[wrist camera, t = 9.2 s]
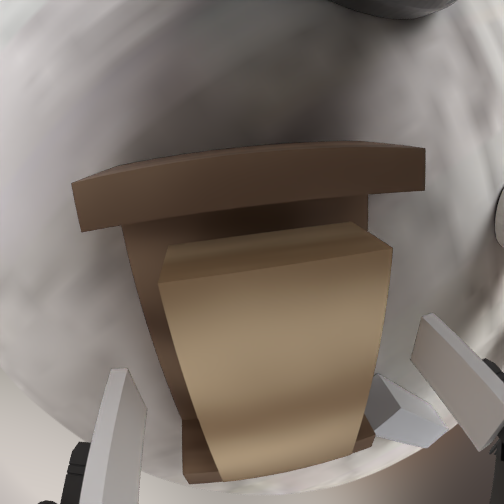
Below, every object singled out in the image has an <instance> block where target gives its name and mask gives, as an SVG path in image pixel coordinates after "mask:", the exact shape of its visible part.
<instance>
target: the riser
mask: <svg viewBox="0 0 504 504" xmlns="http://www.w3.org/2000/svg"><path fill="white" fill-rule="evenodd" d="M364 414H365V416H366V418H367V419H368V421H369V423H370V425H371V427H372V428H373V430H374V432H375V434H376V436H378V437H381V438H385V439H389V440H393V441H397V442H401V443H405V444H409V445H413V446H418V447H422V448H428V447H429V446H430V445H431V444H433V443H434V442H435V441H436V440H437V439H439V438H440V437H441V436H442V435H443V434H444V433H445V432H446V431H448V430H449V428H448V427H447V425H446V424H445V423H444V421H443V420H442V419H441V417H440V416H439V415H438V413H437V412H436V411H435V409H434V408H433V407H432V405H431V404H429V403H428V402H426V401H424V400H422V399H421V398H419V397H417V396H416V395H414V394H412V393H410V392H409V391H407V390H405V389H404V388H402V387H400V386H398V385H397V384H395V383H393V382H392V381H390V380H388V379H387V378H385V377H383V376H382V375H380V374H378V373H377V374H376V375H375V376H374V377H373V379H372V384H371V388H370V392H369V396H368V400H367V404H366V407H365V411H364Z"/></svg>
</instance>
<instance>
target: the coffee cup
mask: <svg viewBox="0 0 504 504" xmlns="http://www.w3.org/2000/svg"><path fill="white" fill-rule="evenodd" d="M495 234H496V238H497V241H498V243H499V244H500V245H501V246H502V247H503V248H504V189H503V191H502V194H501V196H500V199H499V202H498V206H497V211H496V217H495Z"/></svg>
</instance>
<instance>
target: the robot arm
mask: <svg viewBox="0 0 504 504" xmlns="http://www.w3.org/2000/svg"><path fill="white" fill-rule="evenodd" d="M330 1H332V2H335V3H337V4H340V5H342V6H345V7H347V8H350V9H353V10H356V11H359V12H363V13H366V14H370V15H374V16H378V17H384V18H391V19H414V18H419V17H422V16H425V15H428V14H431V13H433V12H436V11H439V10H442V9H444V8H447V7H448V6H450V5H452V4H453V3H455V2H456V1H457V0H330ZM410 360H411V361H412V363H413V364H414V365H415V367H416V368H417V369H418V370H419V372H420V373H421V374H422V375H423V377H424V378H425V379H426V381H427V382H428V383H429V384H430V386H431V387H432V388H433V390H434V391H435V392H436V394H437V395H438V396H439V398H440V399H441V400H442V402H443V403H444V404H445V406H446V407H447V408H448V410H449V411H450V412H451V414H452V415H453V416H454V418H455V419H456V420H457V422H458V423H459V424H460V426H461V427H462V429H463V430H464V431H465V433H466V434H467V436H468V437H469V439H470V440H471V441H472V443H473V444H474V446H475V447H476V448H477V450H478V451H480V450H482V449H484V448H485V447H486V446H488V445H489V444H491V442H492V441H493V440H494V439H495V437H496V436H498V437H499V438H500V439H499V440H498V441H497V443H496V444H495V445H494V446H493V447H492V449H491V450H490V453H489V454H492V453H493V452H494V450H495V449H496V448H497V450H496V452H495V453H494V454H495V455H496V464H495V473H494V481H493V487H492V493H491V499H490V504H504V373H503V372H501V369H500V368H499V367H498V366H497V365H496V364H495V363H493V362H491V361H489V360H488V359H486V358H485V359H483V360H481V358H480V357H479V356H478V355H477V354H476V353H475V352H474V351H473V350H472V349H471V348H470V347H469V346H468V345H467V344H466V343H465V342H464V341H463V340H462V339H461V338H459V337H458V336H457V335H456V334H455V333H454V332H453V331H452V330H451V329H450V328H449V327H448V326H447V325H446V324H445V323H444V322H443V321H442V320H441V319H440V318H439V317H438V316H436V315H435V314H434V313H431V314H428V315H424V316H422V317H421V321H420V325H419V329H418V333H417V337H416V341H415V344H414V348H413V352H412V355H411V359H410ZM146 415H147V408H146V406H145V404H144V402H143V400H142V398H141V396H140V394H139V392H138V390H137V387H136V385H135V383H134V381H133V379H132V377H131V374H130V372H129V370H128V368H117V369H111V371H110V375H109V378H108V381H107V385H106V388H105V392H104V395H103V399H102V402H101V406H100V410H99V413H98V417H97V421H96V425H95V429H94V433H93V437H92V441H91V443H88V442H79V443H78V444H77V445H76V447H75V449H74V450H73V451H72V454H71V458H70V462H69V464H70V465H69V466H68V470H67V473H68V474H67V475H66V479H65V484H64V488H63V493H62V499H61V503H60V504H138V501H139V485H140V472H141V461H142V450H143V441H144V432H145V423H146ZM38 504H57V503H55V502H53V501H43V502H40V503H38Z"/></svg>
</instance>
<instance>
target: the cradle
mask: <svg viewBox="0 0 504 504" xmlns="http://www.w3.org/2000/svg"><path fill="white" fill-rule="evenodd" d="M71 185H72V190H73V195H74V200H75V205H76V210H77V215H78V219H79V224H80V228H81V232H86V231H92V230H97V229H103V228H108V227H114V226H120V225H121V226H122V231H123V235H124V240H125V244H126V249H127V253H128V257H129V261H130V265H131V269H132V273H133V277H134V281H135V284H136V288H137V292H138V295H139V299H140V302H141V306H142V309H143V313H144V316H145V319H146V323H147V326H148V329H149V332H150V335H151V338H152V341H153V344H154V347H155V350H156V353H157V356H158V359H159V362H160V365H161V368H162V370H163V373H164V376H165V378H166V381H167V384H168V386H169V389H170V392H171V394H172V397H173V399H174V402H175V404H176V407H177V409H178V412H179V414H180V416H181V419H182V463H183V475H184V477H185V478H186V480H187V481H188V483H189V484H200V483H212V482H222V481H223V480H222V478H221V476H220V473H219V471H218V468H217V466H216V464H215V461H214V459H213V456H212V454H211V451H210V449H209V446H208V444H207V441H206V439H205V436H204V433H203V431H202V428H201V425H200V422H199V420H198V417H197V414H196V411H195V409H194V406H193V403H192V400H191V397H190V394H189V391H188V388H187V385H186V382H185V379H184V376H183V373H182V369H181V366H180V363H179V360H178V356H177V353H176V350H175V346H174V343H173V339H172V336H171V332H170V329H169V325H168V321H167V318H166V314H165V310H164V306H163V302H162V298H161V294H160V290H159V286H158V281H159V277H160V273H161V270H162V266H163V263H164V259H165V255H166V252H167V249H168V246H171V245H178V244H185V243H192V242H199V241H206V240H213V239H221V238H228V237H235V236H243V235H250V234H258V233H265V232H273V231H281V230H288V229H296V228H304V227H312V226H320V225H328V224H337V223H345V222H353V223H355V224H356V225H358V226H359V227H361V228H363V229H364V230H366V231H367V230H368V194H381V193H395V192H411V191H425V148H420V147H412V146H404V145H395V144H386V143H375V142H364V141H328V142H302V143H285V144H271V145H258V146H247V147H237V148H228V149H219V150H211V151H203V152H196V153H189V154H182V155H176V156H169V157H163V158H157V159H151V160H146V161H140V162H135V163H130V164H125V165H120V166H116V167H113V168H110V169H107V170H105V171H102V172H99V173H97V174H94V175H91V176H89V177H86V178H83V179H81V180H78V181H76V182H73V183H71ZM375 436H376V434H375V432H374V430H373V428H372V427H371V425H370V423H369V421H368V419H367V418H366V416H365V414H364V415H363V418H362V422H361V425H360V429H359V432H358V435H357V439H356V442H355V445H354V448H353V451H352V453H355V452H358V451H361V450H364V449H366V448H369V447H371V446H372V443H373V441H374V438H375Z"/></svg>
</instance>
